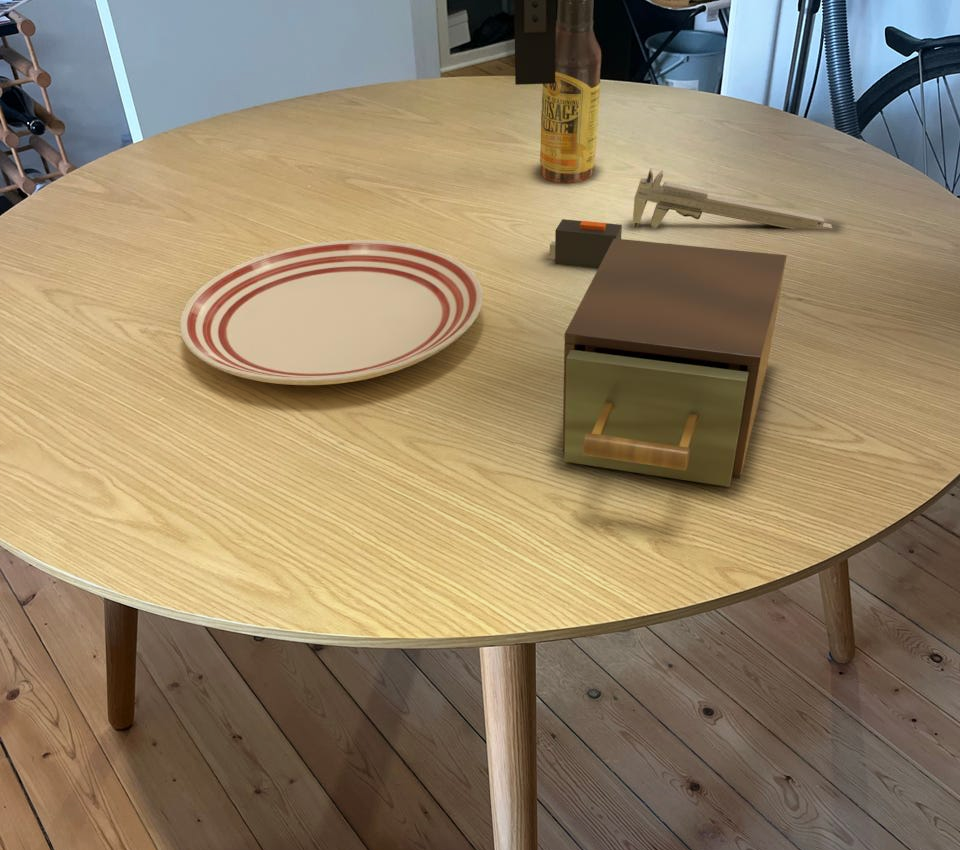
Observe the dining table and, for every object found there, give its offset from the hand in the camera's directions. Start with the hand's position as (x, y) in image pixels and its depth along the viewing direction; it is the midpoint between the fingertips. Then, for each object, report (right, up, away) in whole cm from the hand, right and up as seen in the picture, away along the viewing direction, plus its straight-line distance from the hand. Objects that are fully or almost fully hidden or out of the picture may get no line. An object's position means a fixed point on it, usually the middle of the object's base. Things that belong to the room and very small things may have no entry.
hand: (536, 51), depth 74 cm
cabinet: (+11, -25, +9) cm, 28 cm away
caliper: (+22, -1, +32) cm, 39 cm away
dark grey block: (+6, -5, +28) cm, 29 cm away
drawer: (+10, -27, +5) cm, 29 cm away
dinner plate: (-17, -14, +21) cm, 31 cm away
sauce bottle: (+6, +10, +43) cm, 45 cm away
